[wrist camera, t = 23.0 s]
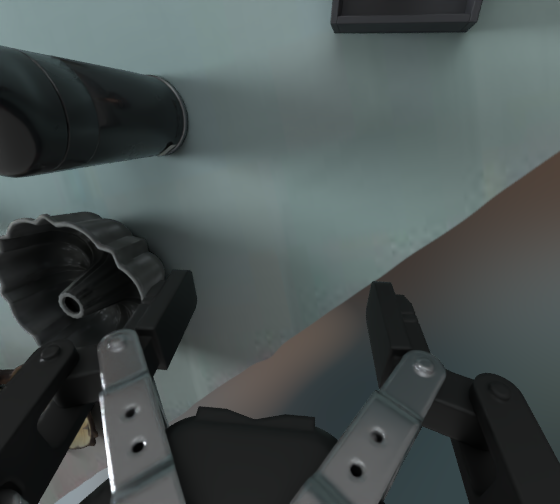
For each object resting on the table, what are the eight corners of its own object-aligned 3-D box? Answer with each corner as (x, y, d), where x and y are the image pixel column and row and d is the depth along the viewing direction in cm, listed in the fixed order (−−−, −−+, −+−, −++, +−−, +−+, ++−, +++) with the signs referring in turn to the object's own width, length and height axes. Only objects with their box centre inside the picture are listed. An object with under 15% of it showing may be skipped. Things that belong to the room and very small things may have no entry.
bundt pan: (210, 247, 45) (170, 278, 36) (171, 362, 57) (135, 406, 48) (59, 168, 47) (-13, 179, 38) (53, 296, 59) (-3, 327, 50)
